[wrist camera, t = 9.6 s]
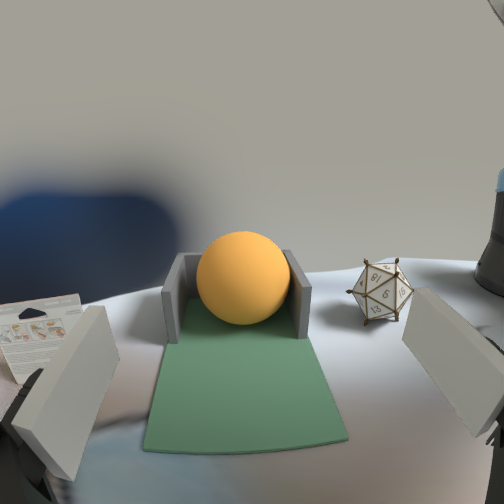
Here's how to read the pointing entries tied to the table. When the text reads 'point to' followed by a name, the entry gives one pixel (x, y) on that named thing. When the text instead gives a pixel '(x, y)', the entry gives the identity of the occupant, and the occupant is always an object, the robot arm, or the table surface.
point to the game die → (381, 291)
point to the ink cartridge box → (36, 332)
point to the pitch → (238, 376)
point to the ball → (243, 278)
